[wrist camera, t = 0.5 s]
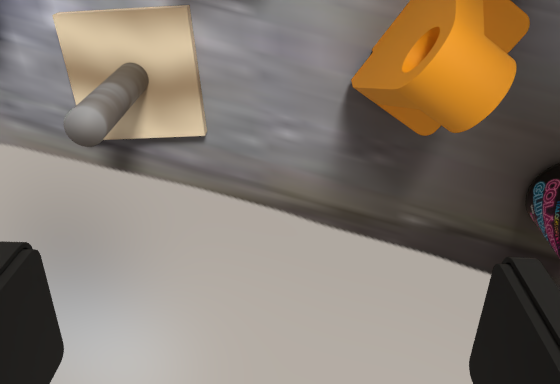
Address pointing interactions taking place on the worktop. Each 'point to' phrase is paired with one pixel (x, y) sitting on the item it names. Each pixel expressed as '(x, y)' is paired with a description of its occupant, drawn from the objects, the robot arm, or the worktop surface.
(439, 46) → the bracket
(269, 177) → the worktop surface
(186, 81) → the post stand
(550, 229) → the supplement container
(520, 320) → the robot arm
